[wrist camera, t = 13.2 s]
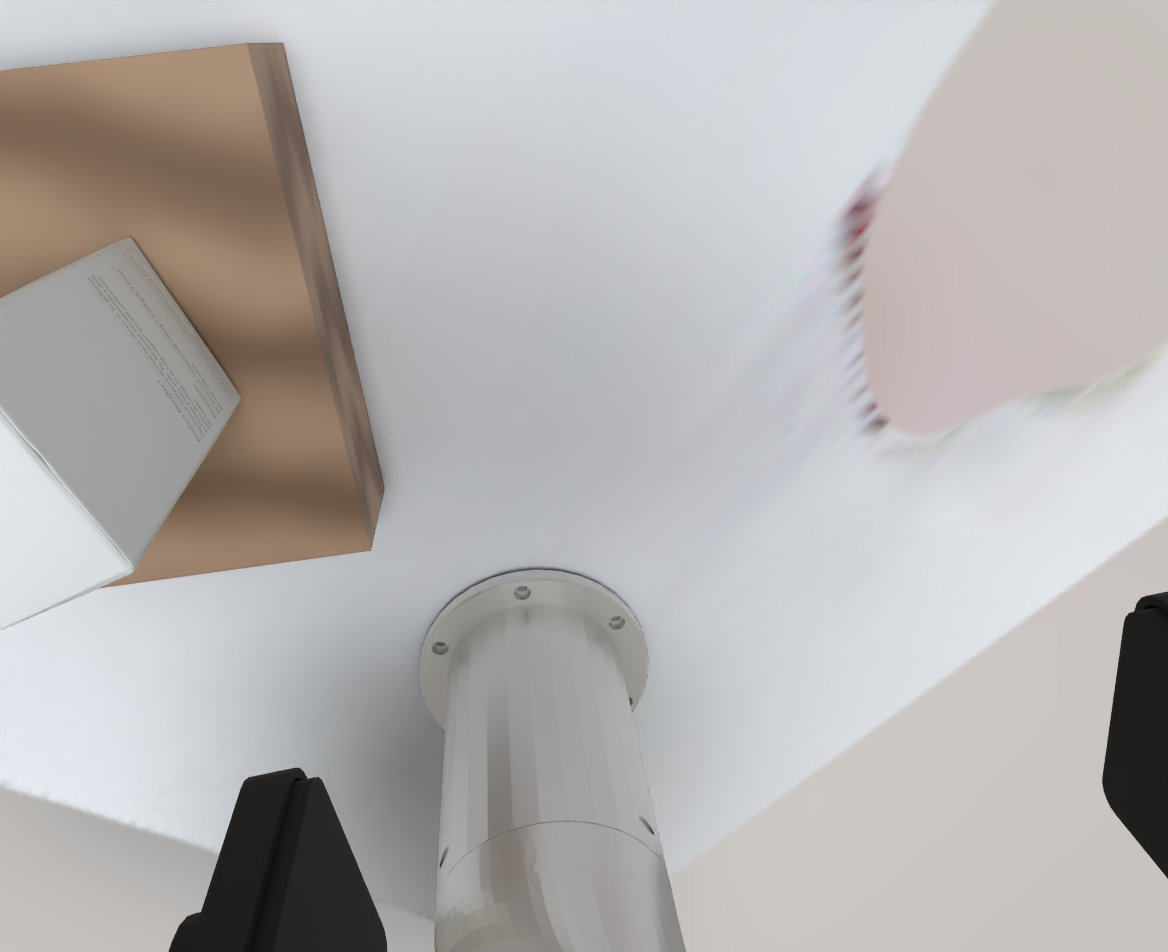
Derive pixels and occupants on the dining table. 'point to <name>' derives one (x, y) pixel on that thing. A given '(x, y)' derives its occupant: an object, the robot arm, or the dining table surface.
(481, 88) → the dining table surface
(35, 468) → the supplement box
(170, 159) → the walnut shelf
